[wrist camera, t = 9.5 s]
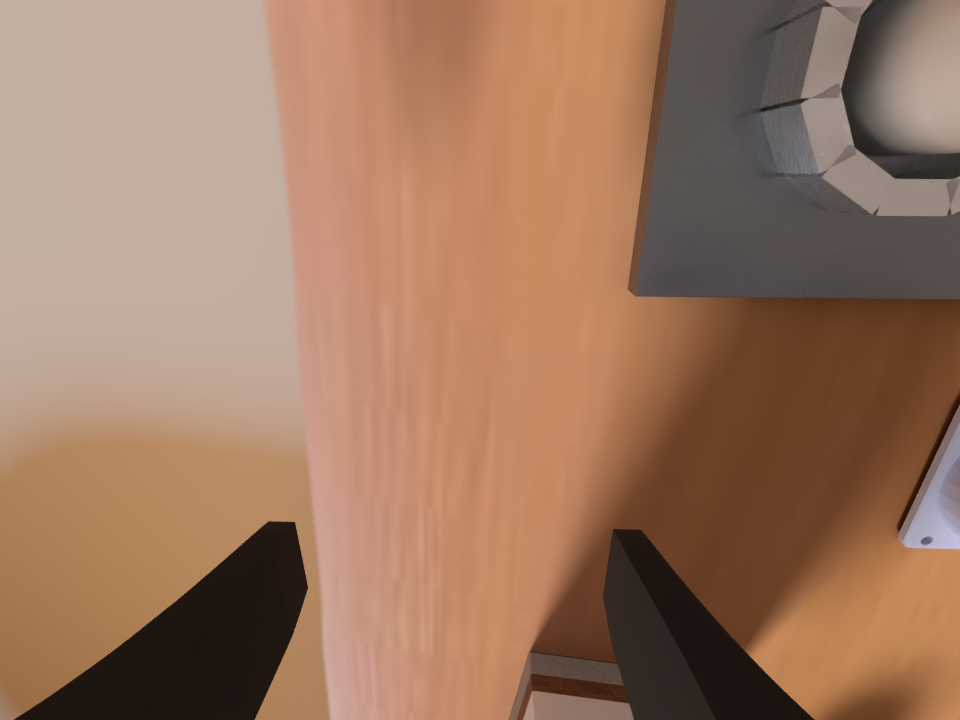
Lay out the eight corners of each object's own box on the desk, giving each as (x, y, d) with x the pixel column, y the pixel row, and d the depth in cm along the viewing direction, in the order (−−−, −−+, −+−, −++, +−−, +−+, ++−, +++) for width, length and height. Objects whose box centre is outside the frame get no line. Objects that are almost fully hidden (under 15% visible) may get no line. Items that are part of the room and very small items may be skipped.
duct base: (1253, -245, 11) (1495, -378, 9) (1004, 293, 17) (1104, 317, 14) (697, -235, 12) (759, -358, 9) (628, 289, 17) (653, 312, 14)
